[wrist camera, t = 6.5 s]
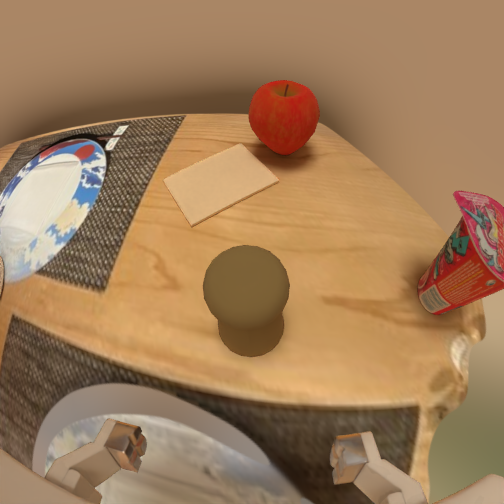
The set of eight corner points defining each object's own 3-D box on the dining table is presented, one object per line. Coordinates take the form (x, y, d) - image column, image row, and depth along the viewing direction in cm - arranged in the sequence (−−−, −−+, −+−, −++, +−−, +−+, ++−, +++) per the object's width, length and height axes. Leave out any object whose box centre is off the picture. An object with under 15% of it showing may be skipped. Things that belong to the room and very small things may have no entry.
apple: (247, 170, 34) (243, 98, 25) (253, 132, 38) (251, 69, 29) (314, 175, 34) (326, 103, 24) (311, 136, 38) (319, 73, 28)
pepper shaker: (230, 287, 27) (213, 219, 17) (291, 303, 26) (309, 243, 16) (209, 345, 24) (174, 308, 14) (273, 364, 23) (283, 343, 13)
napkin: (191, 227, 30) (191, 225, 30) (163, 181, 34) (162, 179, 34) (279, 182, 33) (279, 179, 33) (240, 145, 37) (240, 143, 37)
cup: (460, 270, 26) (519, 213, 16) (459, 335, 22) (535, 294, 12) (400, 248, 28) (451, 176, 18) (393, 318, 24) (464, 263, 14)
